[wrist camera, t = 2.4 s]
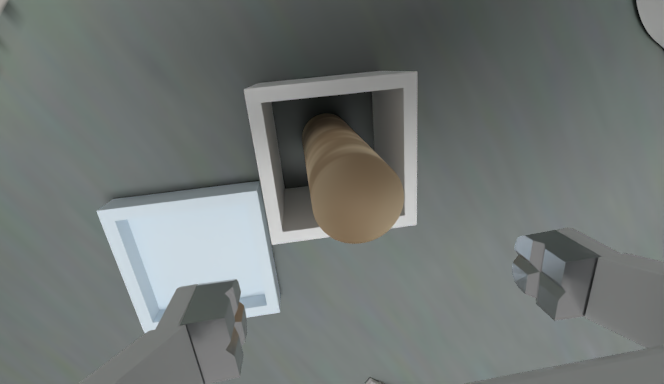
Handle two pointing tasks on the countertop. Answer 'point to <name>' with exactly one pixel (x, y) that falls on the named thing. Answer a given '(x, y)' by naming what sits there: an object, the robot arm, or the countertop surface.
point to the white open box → (389, 143)
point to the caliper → (373, 381)
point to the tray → (192, 246)
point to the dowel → (349, 182)
